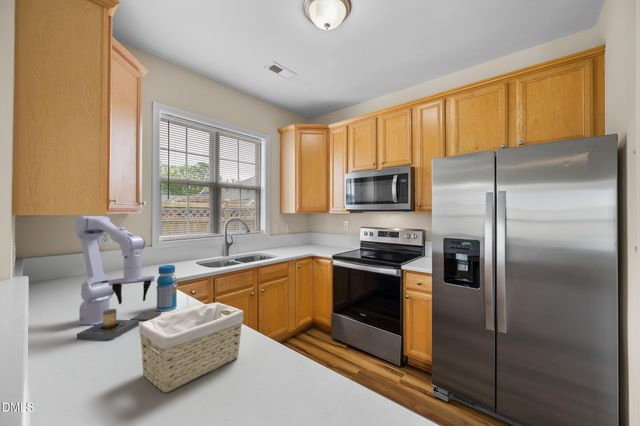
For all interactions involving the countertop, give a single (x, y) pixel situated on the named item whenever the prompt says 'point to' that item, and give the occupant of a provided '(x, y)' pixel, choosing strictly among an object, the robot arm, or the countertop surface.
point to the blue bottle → (166, 288)
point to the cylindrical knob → (109, 319)
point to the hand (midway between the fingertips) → (132, 301)
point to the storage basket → (189, 343)
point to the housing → (109, 334)
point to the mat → (146, 316)
